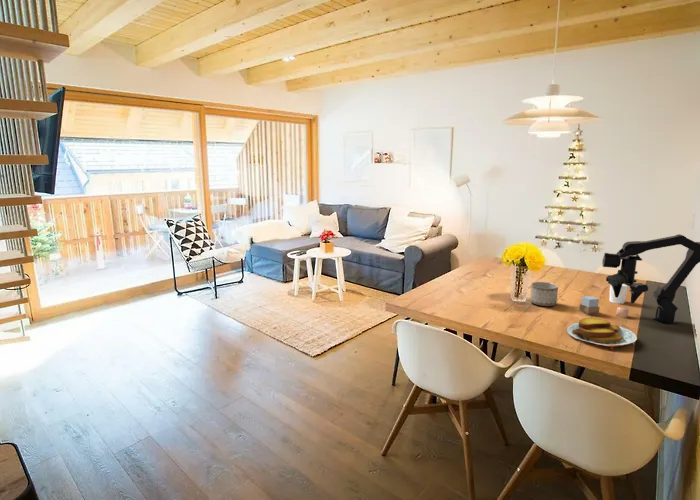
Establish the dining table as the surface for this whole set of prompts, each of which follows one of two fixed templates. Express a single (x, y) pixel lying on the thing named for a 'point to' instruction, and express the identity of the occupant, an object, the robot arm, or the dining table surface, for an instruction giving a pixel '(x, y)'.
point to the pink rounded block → (622, 312)
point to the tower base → (589, 310)
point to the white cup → (621, 297)
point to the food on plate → (601, 332)
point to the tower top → (590, 301)
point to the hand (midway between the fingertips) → (624, 300)
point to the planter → (544, 293)
